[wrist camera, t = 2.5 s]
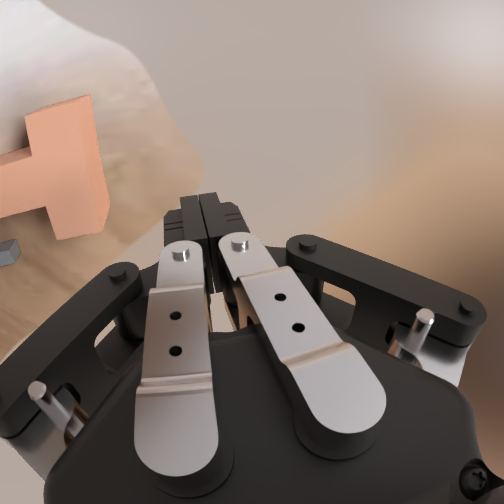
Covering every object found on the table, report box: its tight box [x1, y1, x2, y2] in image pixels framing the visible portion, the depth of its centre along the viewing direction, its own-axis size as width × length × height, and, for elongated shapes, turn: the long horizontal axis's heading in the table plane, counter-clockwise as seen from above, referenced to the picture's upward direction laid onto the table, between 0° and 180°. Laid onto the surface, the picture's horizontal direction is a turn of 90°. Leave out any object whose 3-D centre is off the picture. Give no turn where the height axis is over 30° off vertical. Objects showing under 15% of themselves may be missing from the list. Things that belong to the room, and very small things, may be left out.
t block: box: [0, 94, 110, 240], centre depth 21 cm, size 10×10×5 cm
